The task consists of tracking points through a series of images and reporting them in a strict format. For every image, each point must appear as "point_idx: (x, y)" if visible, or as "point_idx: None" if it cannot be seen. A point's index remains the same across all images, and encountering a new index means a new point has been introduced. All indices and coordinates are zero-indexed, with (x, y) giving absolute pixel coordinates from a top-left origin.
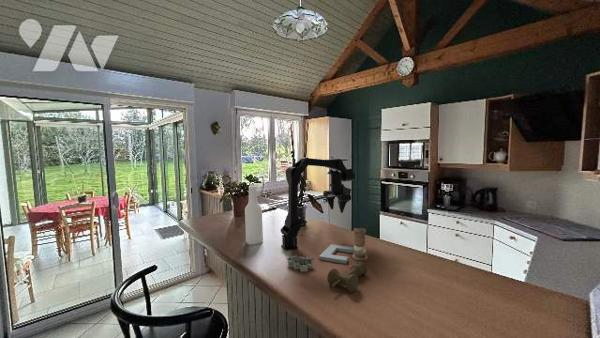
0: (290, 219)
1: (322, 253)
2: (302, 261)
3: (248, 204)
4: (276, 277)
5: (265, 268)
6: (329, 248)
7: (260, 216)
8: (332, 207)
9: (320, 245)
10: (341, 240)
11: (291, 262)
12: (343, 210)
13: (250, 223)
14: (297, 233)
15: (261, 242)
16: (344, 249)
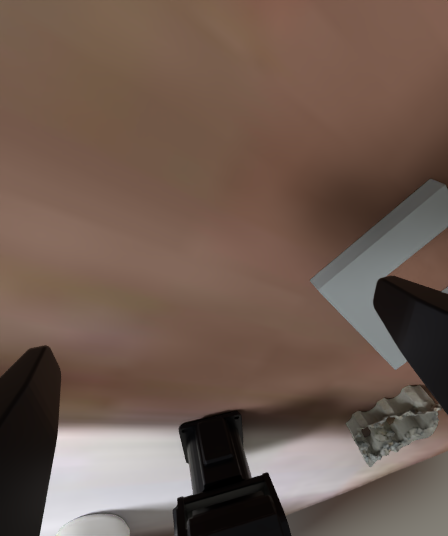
0: None
1: (384, 354)
2: (380, 413)
3: None
4: (396, 456)
5: (336, 478)
6: (361, 315)
7: None
8: (43, 392)
9: (256, 321)
10: (241, 171)
11: (379, 444)
12: (433, 292)
13: None
14: (273, 486)
15: (110, 516)
16: (413, 250)
